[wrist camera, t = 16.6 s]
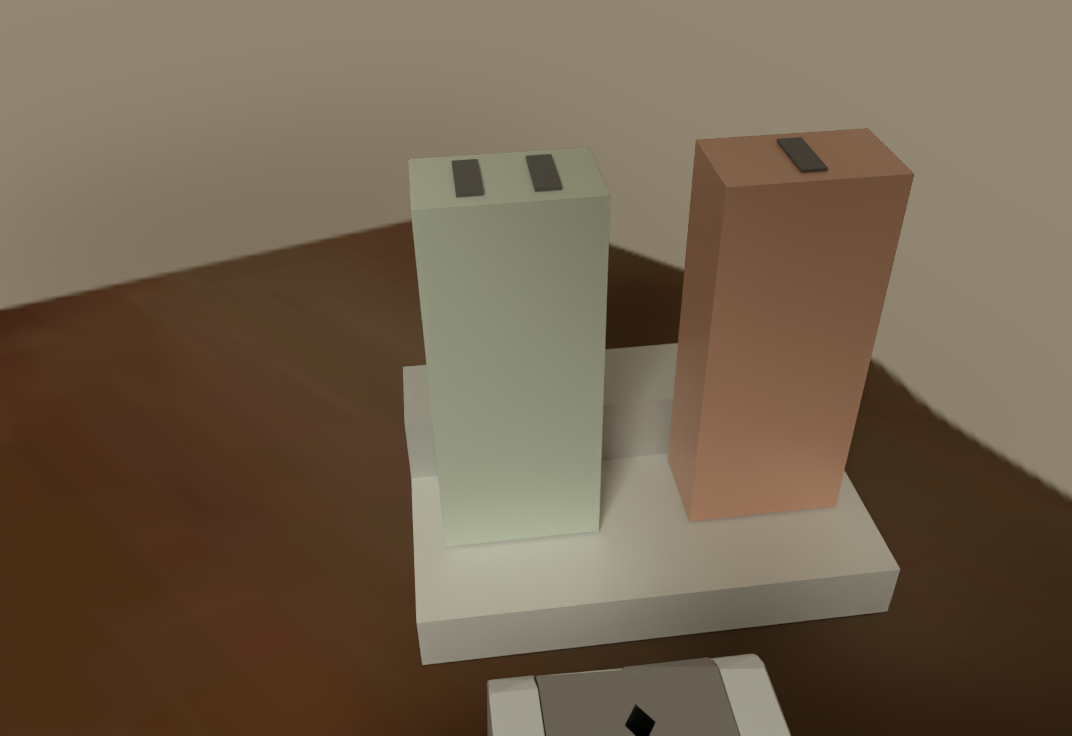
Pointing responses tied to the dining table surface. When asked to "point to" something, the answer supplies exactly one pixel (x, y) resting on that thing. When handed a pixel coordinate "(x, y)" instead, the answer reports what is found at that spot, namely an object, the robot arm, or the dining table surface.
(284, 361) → the dining table surface
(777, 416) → the orange-brown upright block
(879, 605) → the tile board
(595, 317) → the pale green tall block
